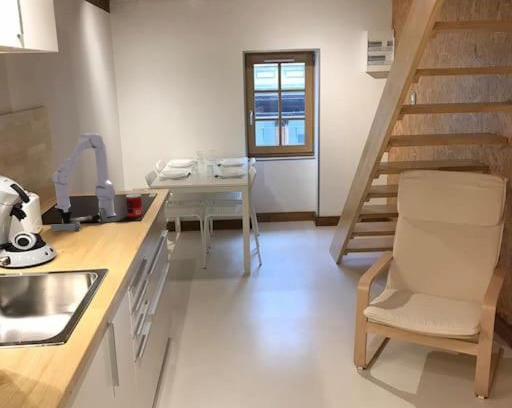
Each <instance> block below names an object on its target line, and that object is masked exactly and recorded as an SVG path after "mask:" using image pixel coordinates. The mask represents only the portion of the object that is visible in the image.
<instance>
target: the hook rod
mask: <svg viewBox="0 0 512 408" xmlns="http://www.w3.org/2000/svg"><path fill="white" fill-rule="evenodd" d="M92 220H93V216H92V215H88V216H82V217H81V216H80V217H73V218H70V224H75V223H76V222H86V221H88V222H89V221H92ZM61 221H62V222H61V224H64V222H63V219H61Z"/></svg>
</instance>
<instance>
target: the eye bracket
mask: <svg viewBox="0 0 512 408" xmlns="http://www.w3.org/2000/svg"><path fill="white" fill-rule="evenodd" d="M98 213H100V216H99V219H97V222H98V223H99V224H105V222H106V223H110V222H111V220H110V219H109V218H108V217H107V213H106V209H105V208H99V207H98Z"/></svg>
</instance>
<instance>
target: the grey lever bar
mask: <svg viewBox="0 0 512 408" xmlns="http://www.w3.org/2000/svg"><path fill="white" fill-rule="evenodd" d="M50 229H51V231H52V232H54V231H74V230H80V229H81V223H80V222H74V223H70V224H63V223H61V224H60V223H59V224H57V223H56V224H55V223H54V224H50Z"/></svg>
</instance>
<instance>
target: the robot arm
mask: <svg viewBox="0 0 512 408" xmlns="http://www.w3.org/2000/svg"><path fill="white" fill-rule="evenodd" d="M87 149H91V150H93V151H94V153H95V154H94V155H95V164H96V175H97V182H96V183H95V189H94V194H95V196H96V197H97V199H98V209H99V208H105V209H106V213H107V218H108V217H117V213H115V206H114V198H115V196H116V190H115V187H114V184H113V182H111V181H110V178H109V177H110V176H109V167H108V165H109V164H108V156H107V155H108V154H107V148H106V144H105V142H104V141H103V136H102V135H101V134H99V133H88V132H83V133H82V134H81V135H80V136H79V138H78V139H77V144H76V145H75V147H74V149H73V151H72V153H71V154H70V156H69V157H68V158H67V157H66V158H65V159H63V160H62V163H61V165H60V167H59V168H57V170H56V171H55V172H54V173H53V174H52V177H51V178H50V179H51V182H53V184H54V187H55V196H56V197H55V198H56V205H55V206H54V208H55V209H57V211H58V213H59V215H60V218H61V220H62V219H63V222H64V224H71V223H70V219H71V216H72V213H73V211H72V210H70V208H71V203H70V195H69V193H70V192H69V187H68V182H69V181H70V179H71V177H70V176H71V174H72V172H73V171H74V169H75V168H76V166H77V161H78V160H79V158H80V157H81V155H83V152H84V151H85V150H87ZM97 215H98V216H99V217H100V213H99V212H98V213H97Z"/></svg>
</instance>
